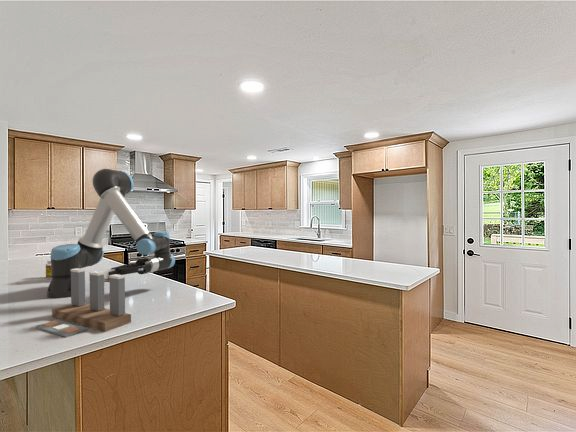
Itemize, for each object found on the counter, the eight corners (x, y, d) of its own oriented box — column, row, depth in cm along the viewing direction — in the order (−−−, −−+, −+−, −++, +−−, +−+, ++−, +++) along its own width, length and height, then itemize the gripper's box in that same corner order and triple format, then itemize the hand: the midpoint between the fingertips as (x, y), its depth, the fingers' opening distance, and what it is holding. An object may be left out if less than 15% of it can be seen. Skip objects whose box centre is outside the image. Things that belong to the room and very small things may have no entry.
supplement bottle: (43, 278, 189) (43, 261, 188) (48, 276, 194) (48, 259, 194) (54, 278, 190) (54, 260, 190) (59, 276, 195) (58, 259, 195)
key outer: (116, 311, 122) (115, 274, 121) (125, 313, 120) (124, 275, 119) (109, 313, 119) (109, 275, 119) (118, 316, 117) (118, 276, 117)
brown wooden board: (52, 316, 125) (51, 309, 125) (78, 309, 134) (78, 302, 134) (105, 331, 111) (105, 323, 111) (131, 322, 120) (130, 314, 120)
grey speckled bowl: (98, 280, 188) (98, 272, 188) (121, 276, 197) (121, 269, 197) (105, 283, 180) (105, 275, 180) (128, 280, 188) (128, 272, 188)
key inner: (77, 302, 133) (77, 268, 132) (85, 304, 130) (84, 269, 130) (71, 304, 130) (70, 269, 130) (78, 306, 128) (78, 270, 127)
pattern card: (35, 327, 114) (35, 325, 114) (57, 321, 121) (57, 319, 121) (65, 337, 106) (65, 334, 106) (86, 330, 112) (86, 327, 112)
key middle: (96, 307, 127) (95, 271, 127) (104, 309, 125) (104, 272, 124) (89, 308, 125) (89, 272, 124) (98, 311, 123) (97, 273, 122)
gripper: (156, 274, 156) (110, 285, 135) (137, 272, 162) (90, 282, 141) (155, 258, 156) (109, 267, 135) (137, 256, 161) (90, 265, 140)
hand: (100, 274), depth 138 cm, fingers closed
